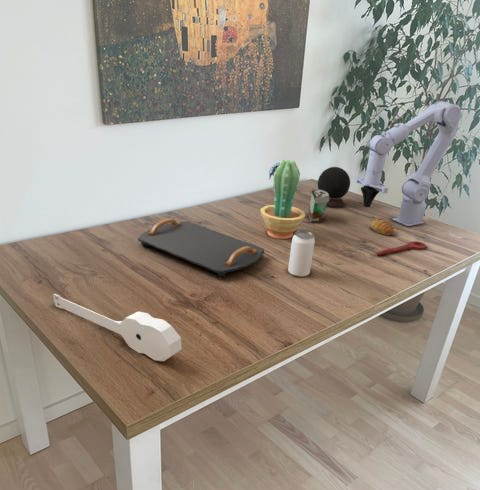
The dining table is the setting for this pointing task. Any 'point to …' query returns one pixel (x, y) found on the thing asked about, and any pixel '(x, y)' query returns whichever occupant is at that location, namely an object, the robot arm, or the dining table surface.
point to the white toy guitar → (134, 330)
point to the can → (301, 253)
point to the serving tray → (201, 246)
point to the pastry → (382, 226)
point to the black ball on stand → (334, 185)
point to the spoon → (403, 248)
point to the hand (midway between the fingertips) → (366, 206)
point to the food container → (317, 205)
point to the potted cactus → (283, 201)
